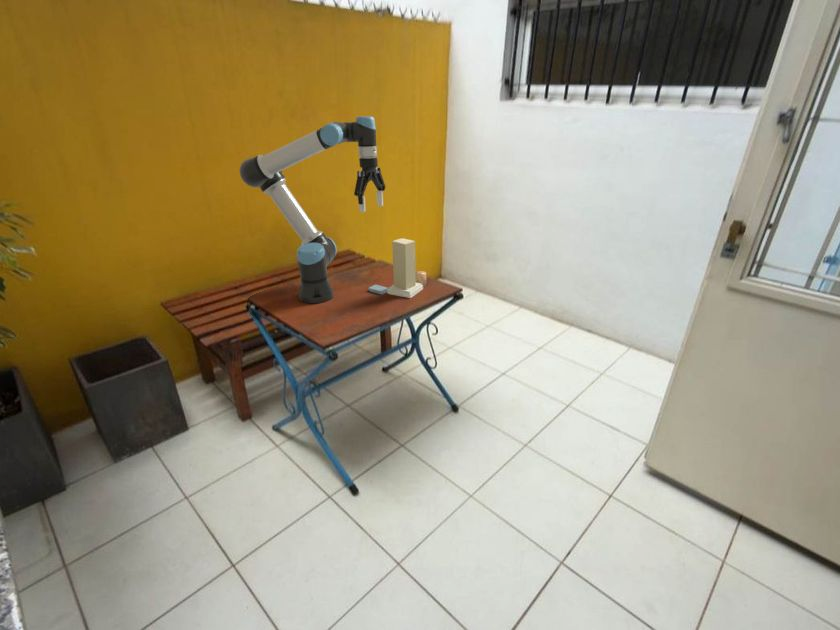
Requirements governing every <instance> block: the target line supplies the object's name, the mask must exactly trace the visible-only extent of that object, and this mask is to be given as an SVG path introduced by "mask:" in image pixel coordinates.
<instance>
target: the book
mask: <svg viewBox="0 0 840 630" xmlns="http://www.w3.org/2000/svg"><path fill="white" fill-rule="evenodd" d="M367 289H368V292H371V293H375V294H378V295H384V294H386V293H387V290H388V289H389V287H387V286H382V285H379V284H373V285H372V286H369V287H367Z"/></svg>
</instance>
